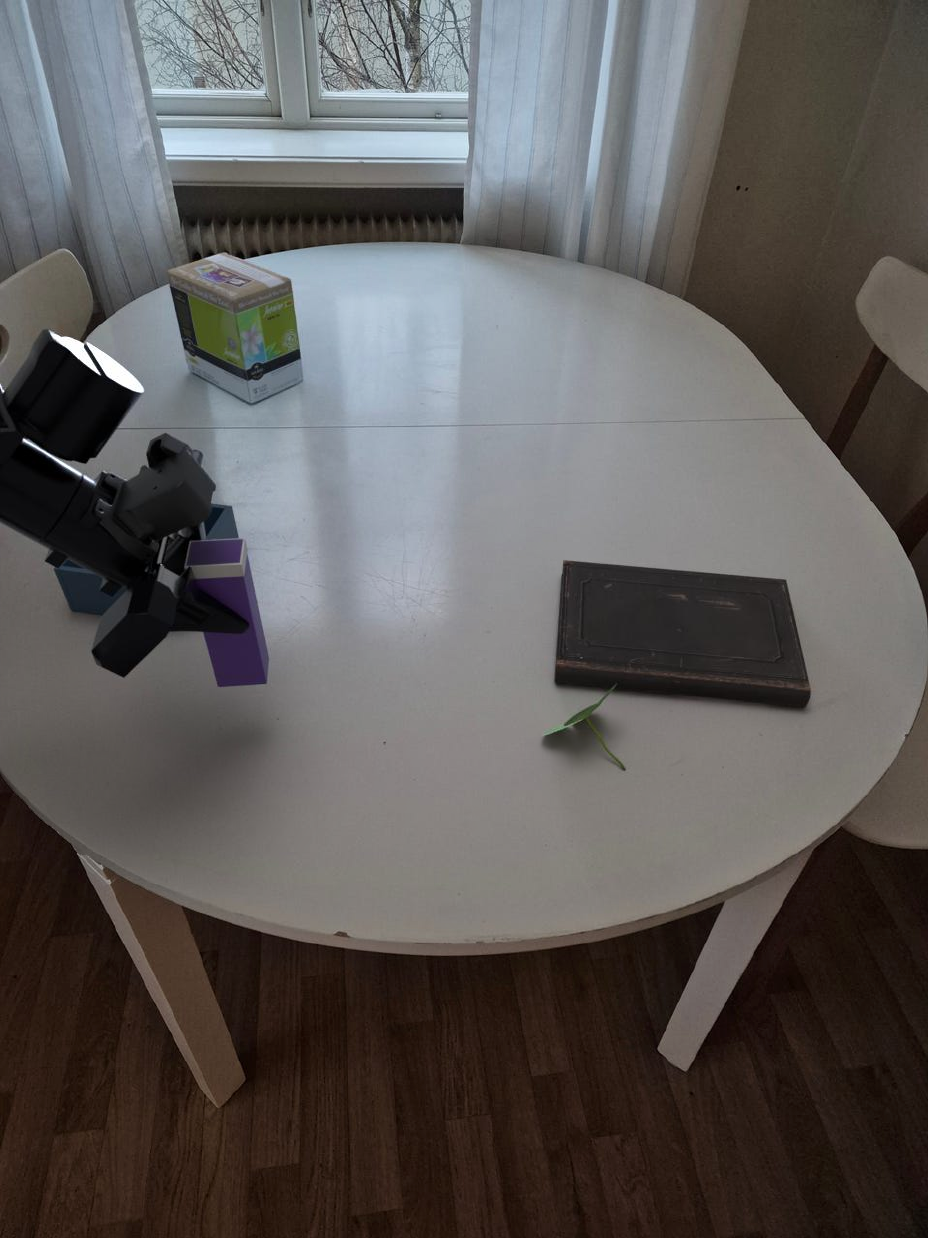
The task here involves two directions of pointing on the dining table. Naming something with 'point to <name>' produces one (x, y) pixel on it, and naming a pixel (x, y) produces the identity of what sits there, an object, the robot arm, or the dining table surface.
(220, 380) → the tea box
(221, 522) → the open blue box
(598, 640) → the hardcover book
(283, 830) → the dining table surface
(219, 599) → the purple white-banded prism
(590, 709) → the seedling
